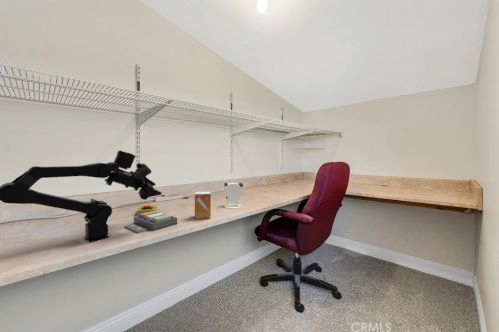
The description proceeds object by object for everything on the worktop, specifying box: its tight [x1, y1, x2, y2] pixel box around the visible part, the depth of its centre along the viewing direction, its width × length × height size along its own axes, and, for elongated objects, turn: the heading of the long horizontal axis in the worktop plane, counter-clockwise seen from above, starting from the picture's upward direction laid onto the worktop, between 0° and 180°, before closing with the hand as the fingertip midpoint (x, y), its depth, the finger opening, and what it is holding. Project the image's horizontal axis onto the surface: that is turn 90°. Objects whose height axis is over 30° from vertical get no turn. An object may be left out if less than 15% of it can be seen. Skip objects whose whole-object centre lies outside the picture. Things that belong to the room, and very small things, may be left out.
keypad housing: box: [133, 211, 178, 232], centre depth 106 cm, size 12×17×3 cm
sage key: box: [152, 214, 172, 223], centre depth 103 cm, size 7×4×2 cm, turn 144°
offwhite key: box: [146, 212, 165, 221], centre depth 106 cm, size 7×4×2 cm, turn 144°
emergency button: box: [136, 205, 158, 216], centre depth 125 cm, size 9×4×15 cm
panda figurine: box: [223, 182, 244, 209], centre depth 141 cm, size 12×11×15 cm
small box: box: [194, 191, 212, 220], centre depth 117 cm, size 8×6×13 cm
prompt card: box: [124, 223, 148, 234], centre depth 98 cm, size 4×12×1 cm, turn 53°
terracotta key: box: [140, 211, 159, 218], centre depth 109 cm, size 7×4×2 cm, turn 144°
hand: (158, 189), depth 106 cm, fingers open, 9 cm apart
